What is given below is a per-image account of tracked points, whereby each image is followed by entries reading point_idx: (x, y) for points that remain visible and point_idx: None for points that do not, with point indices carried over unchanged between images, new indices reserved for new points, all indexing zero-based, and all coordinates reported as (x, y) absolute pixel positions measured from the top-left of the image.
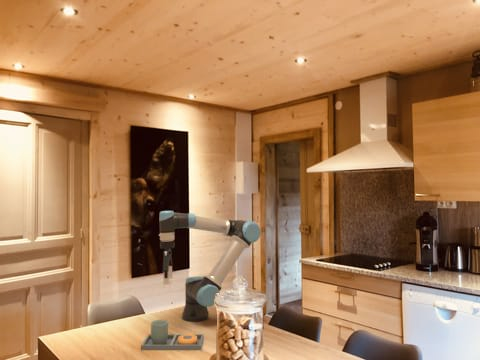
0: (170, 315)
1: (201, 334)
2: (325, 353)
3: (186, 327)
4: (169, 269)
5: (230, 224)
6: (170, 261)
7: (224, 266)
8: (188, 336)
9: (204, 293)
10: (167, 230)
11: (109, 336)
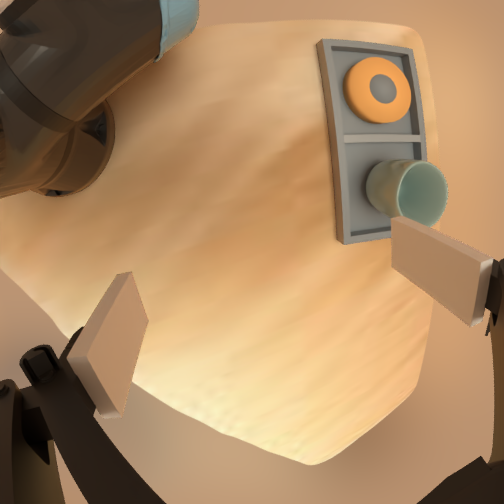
0: (62, 251)
1: (324, 45)
2: None
3: (189, 132)
4: (116, 356)
5: None
6: (111, 441)
7: None
8: (377, 85)
9: None
10: None
11: (312, 363)
